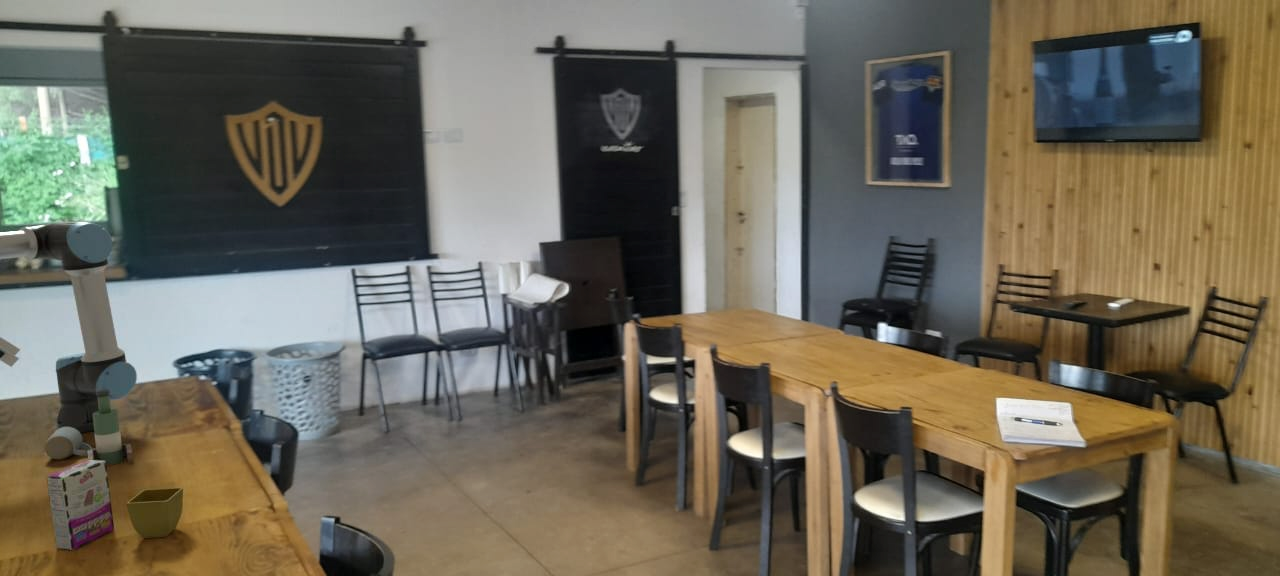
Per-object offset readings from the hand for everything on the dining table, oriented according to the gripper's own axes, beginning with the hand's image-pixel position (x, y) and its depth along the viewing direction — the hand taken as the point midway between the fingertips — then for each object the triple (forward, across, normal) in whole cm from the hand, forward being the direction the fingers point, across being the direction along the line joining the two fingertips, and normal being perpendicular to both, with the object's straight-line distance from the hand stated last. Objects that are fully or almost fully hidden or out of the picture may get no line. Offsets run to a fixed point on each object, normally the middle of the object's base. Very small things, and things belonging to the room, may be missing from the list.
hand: (16, 358), depth 247 cm
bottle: (+35, +8, -8) cm, 37 cm away
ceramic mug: (+28, -6, -15) cm, 33 cm away
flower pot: (+39, +72, -4) cm, 82 cm away
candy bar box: (+29, +66, -14) cm, 74 cm away
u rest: (+35, +8, -8) cm, 37 cm away
